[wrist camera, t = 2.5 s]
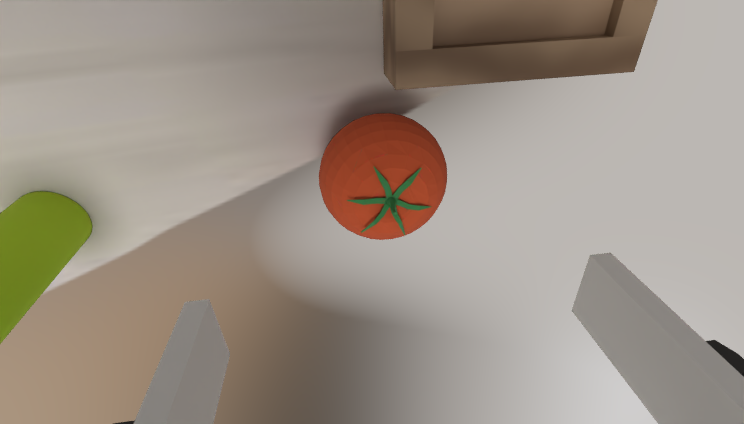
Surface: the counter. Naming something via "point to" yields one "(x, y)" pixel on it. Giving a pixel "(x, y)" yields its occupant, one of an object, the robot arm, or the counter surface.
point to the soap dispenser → (36, 249)
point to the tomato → (383, 176)
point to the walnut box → (509, 39)
